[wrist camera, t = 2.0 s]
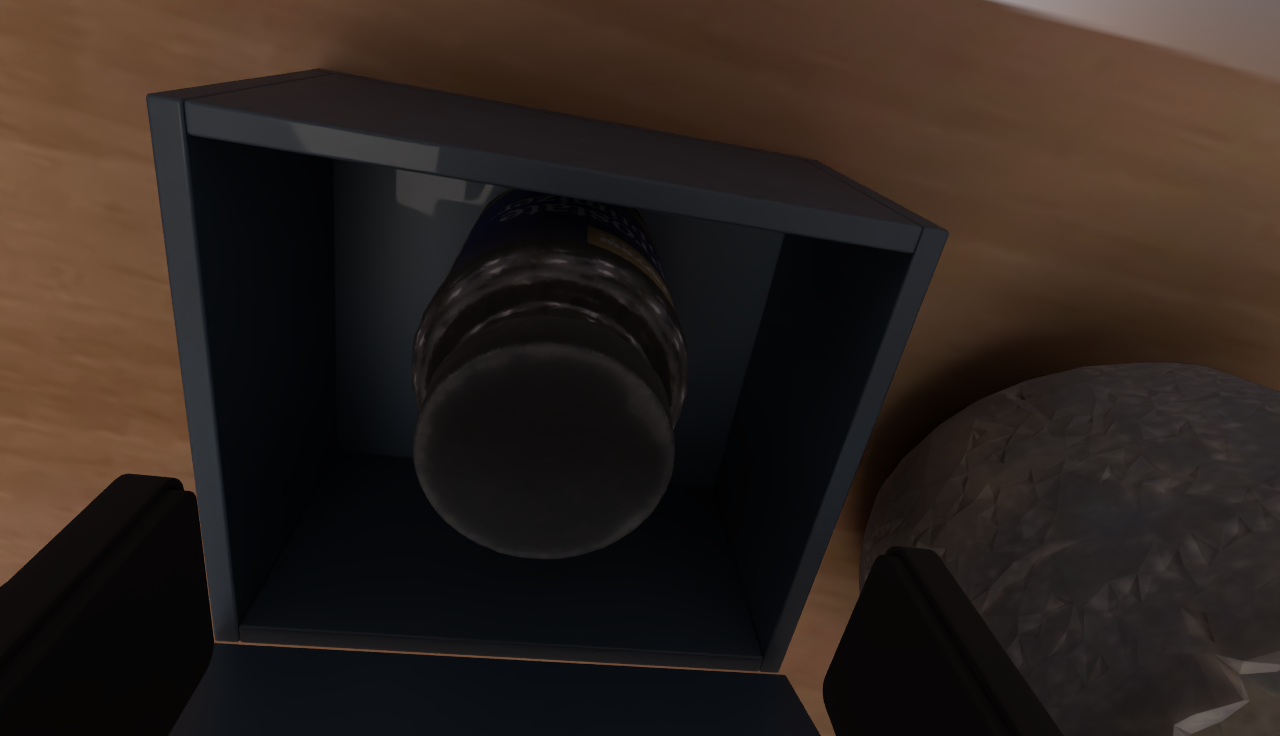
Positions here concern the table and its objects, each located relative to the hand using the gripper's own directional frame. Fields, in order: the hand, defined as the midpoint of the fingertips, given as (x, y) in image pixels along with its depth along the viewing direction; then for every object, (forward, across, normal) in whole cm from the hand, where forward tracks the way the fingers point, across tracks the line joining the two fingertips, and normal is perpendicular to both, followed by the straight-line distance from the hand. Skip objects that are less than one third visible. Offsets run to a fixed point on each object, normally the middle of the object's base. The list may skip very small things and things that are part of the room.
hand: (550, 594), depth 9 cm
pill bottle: (+14, 0, 0) cm, 14 cm away
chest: (+15, 0, +2) cm, 15 cm away
